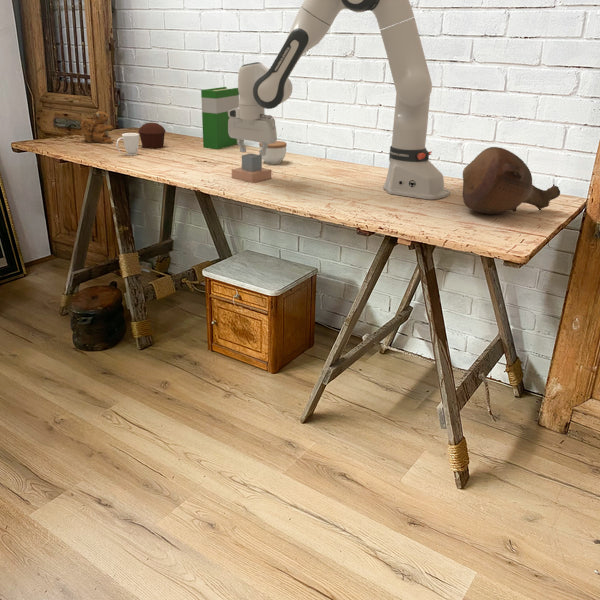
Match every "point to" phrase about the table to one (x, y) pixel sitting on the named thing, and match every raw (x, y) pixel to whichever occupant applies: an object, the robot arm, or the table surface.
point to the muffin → (152, 135)
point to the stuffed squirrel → (97, 128)
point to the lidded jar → (274, 152)
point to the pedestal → (251, 174)
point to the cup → (130, 143)
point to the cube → (251, 162)
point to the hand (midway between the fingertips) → (252, 153)
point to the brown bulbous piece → (501, 183)
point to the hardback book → (218, 116)
